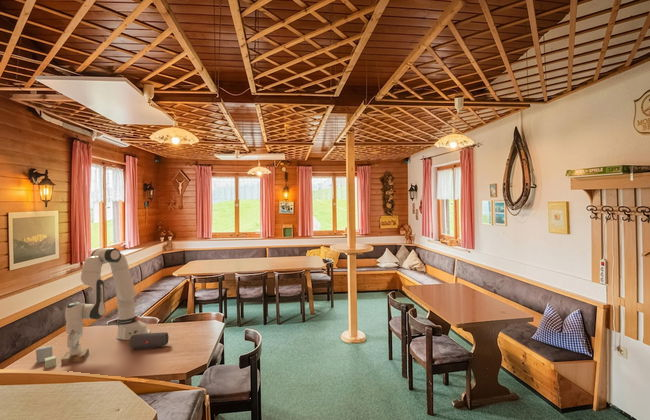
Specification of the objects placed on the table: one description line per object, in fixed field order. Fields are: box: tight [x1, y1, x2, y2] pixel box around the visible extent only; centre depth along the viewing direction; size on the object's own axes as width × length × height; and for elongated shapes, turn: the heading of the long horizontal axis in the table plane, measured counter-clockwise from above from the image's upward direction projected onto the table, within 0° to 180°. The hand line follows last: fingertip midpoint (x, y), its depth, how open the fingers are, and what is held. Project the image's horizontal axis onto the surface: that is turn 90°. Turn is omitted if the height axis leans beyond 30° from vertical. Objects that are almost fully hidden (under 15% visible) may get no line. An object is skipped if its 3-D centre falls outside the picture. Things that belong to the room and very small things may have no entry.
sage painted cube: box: [44, 355, 57, 369], centre depth 206 cm, size 5×5×5 cm
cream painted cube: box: [68, 343, 82, 356], centre depth 215 cm, size 5×5×5 cm
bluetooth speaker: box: [129, 331, 170, 350], centre depth 229 cm, size 23×9×10 cm, turn 99°
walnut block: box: [60, 348, 90, 366], centre depth 215 cm, size 12×12×4 cm
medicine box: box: [35, 344, 54, 364], centre depth 214 cm, size 8×4×9 cm, turn 129°
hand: (75, 348), depth 215 cm, fingers open, 5 cm apart
